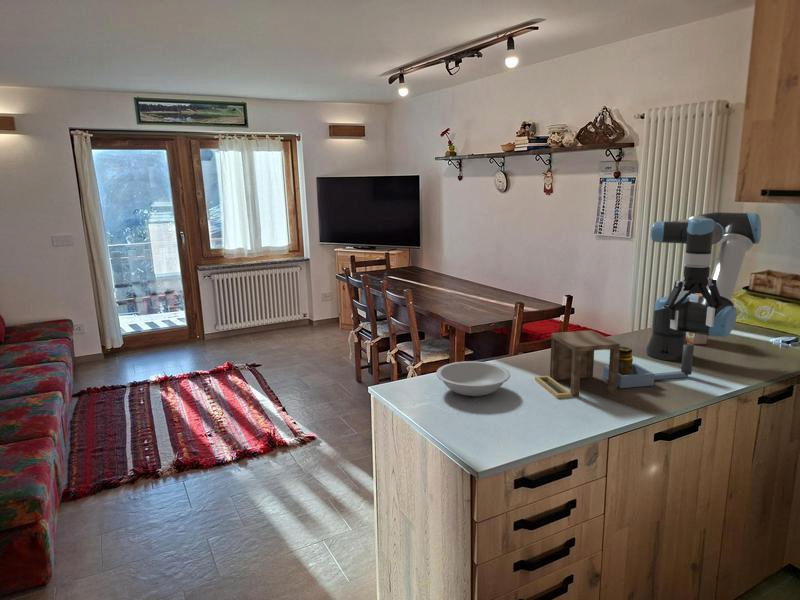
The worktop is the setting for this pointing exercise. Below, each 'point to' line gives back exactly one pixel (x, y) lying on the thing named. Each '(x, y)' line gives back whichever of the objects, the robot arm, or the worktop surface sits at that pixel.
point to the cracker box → (695, 337)
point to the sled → (647, 378)
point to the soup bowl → (473, 377)
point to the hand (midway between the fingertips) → (691, 327)
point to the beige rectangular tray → (553, 387)
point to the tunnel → (581, 357)
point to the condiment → (624, 361)
